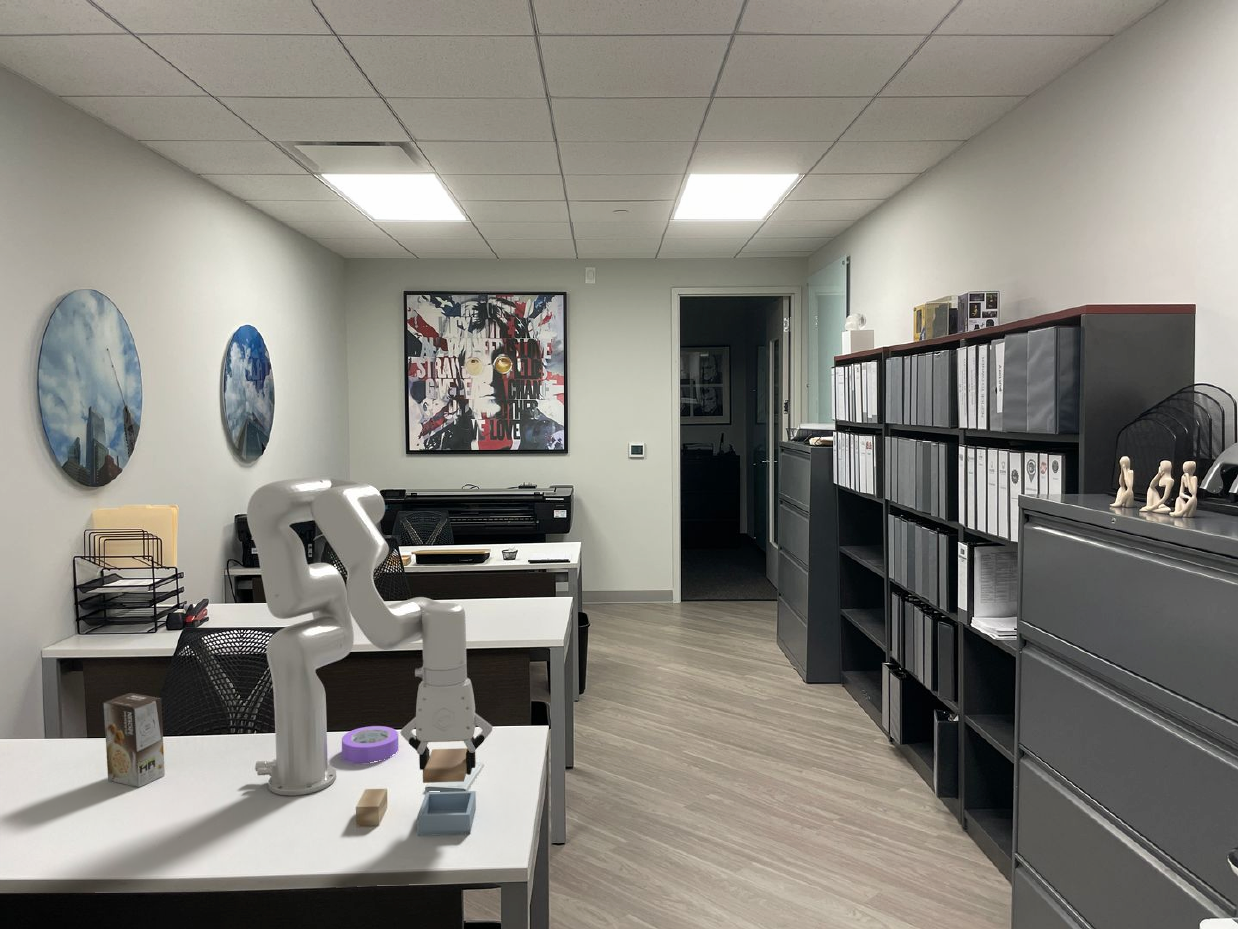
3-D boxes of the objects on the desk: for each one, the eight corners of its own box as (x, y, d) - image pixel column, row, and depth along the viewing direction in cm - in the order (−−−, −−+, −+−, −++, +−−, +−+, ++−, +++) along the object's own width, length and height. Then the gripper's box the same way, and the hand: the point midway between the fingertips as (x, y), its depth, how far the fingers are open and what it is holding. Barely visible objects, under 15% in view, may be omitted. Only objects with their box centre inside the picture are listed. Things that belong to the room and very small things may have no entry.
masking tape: (407, 744, 190) (407, 727, 189) (384, 766, 178) (383, 748, 178) (357, 741, 192) (357, 724, 191) (331, 762, 180) (331, 745, 180)
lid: (422, 783, 148) (422, 774, 148) (432, 757, 158) (432, 749, 158) (463, 781, 148) (463, 772, 148) (471, 756, 159) (470, 748, 158)
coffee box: (166, 775, 174) (163, 697, 173) (138, 788, 168) (134, 708, 167) (134, 768, 177) (130, 691, 176) (105, 780, 171) (101, 702, 170)
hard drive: (466, 788, 165) (483, 761, 177) (424, 786, 166) (445, 759, 178) (466, 797, 165) (484, 769, 177) (424, 794, 166) (445, 767, 178)
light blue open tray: (417, 835, 149) (417, 816, 149) (426, 811, 158) (426, 792, 158) (470, 834, 150) (469, 814, 150) (475, 809, 159) (475, 791, 159)
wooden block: (356, 826, 153) (355, 807, 152) (365, 807, 160) (365, 789, 159) (379, 825, 153) (378, 806, 153) (387, 807, 160) (387, 788, 160)
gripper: (390, 682, 148) (394, 783, 149) (492, 679, 149) (495, 780, 150) (399, 669, 155) (402, 765, 157) (496, 666, 156) (498, 762, 157)
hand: (448, 771), depth 153 cm, fingers closed on lid, 7 cm apart
